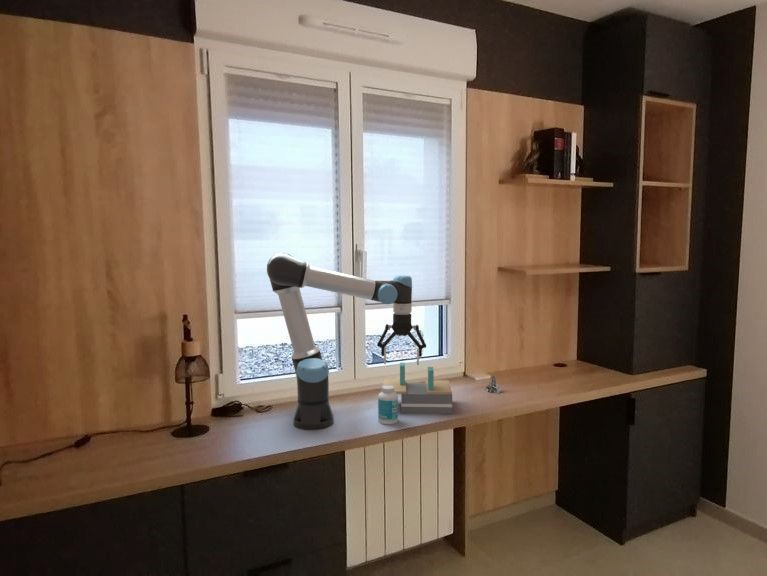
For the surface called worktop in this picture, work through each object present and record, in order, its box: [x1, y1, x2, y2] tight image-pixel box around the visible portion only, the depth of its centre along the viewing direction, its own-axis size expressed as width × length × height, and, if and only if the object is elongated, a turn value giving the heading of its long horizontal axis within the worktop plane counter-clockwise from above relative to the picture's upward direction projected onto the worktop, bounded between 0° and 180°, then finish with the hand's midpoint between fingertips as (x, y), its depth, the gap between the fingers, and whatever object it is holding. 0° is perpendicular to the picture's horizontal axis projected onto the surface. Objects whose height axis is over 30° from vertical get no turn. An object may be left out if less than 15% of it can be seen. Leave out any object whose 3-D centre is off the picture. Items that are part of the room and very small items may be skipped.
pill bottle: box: [377, 385, 399, 426], centre depth 191 cm, size 8×7×14 cm
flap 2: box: [425, 366, 453, 395], centre depth 207 cm, size 10×16×9 cm, turn 178°
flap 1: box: [382, 362, 407, 395], centre depth 207 cm, size 10×16×9 cm, turn 178°
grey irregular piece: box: [484, 375, 503, 394], centre depth 228 cm, size 9×9×8 cm
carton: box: [400, 382, 453, 415], centre depth 208 cm, size 20×16×8 cm
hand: (401, 363), depth 210 cm, fingers open, 13 cm apart
